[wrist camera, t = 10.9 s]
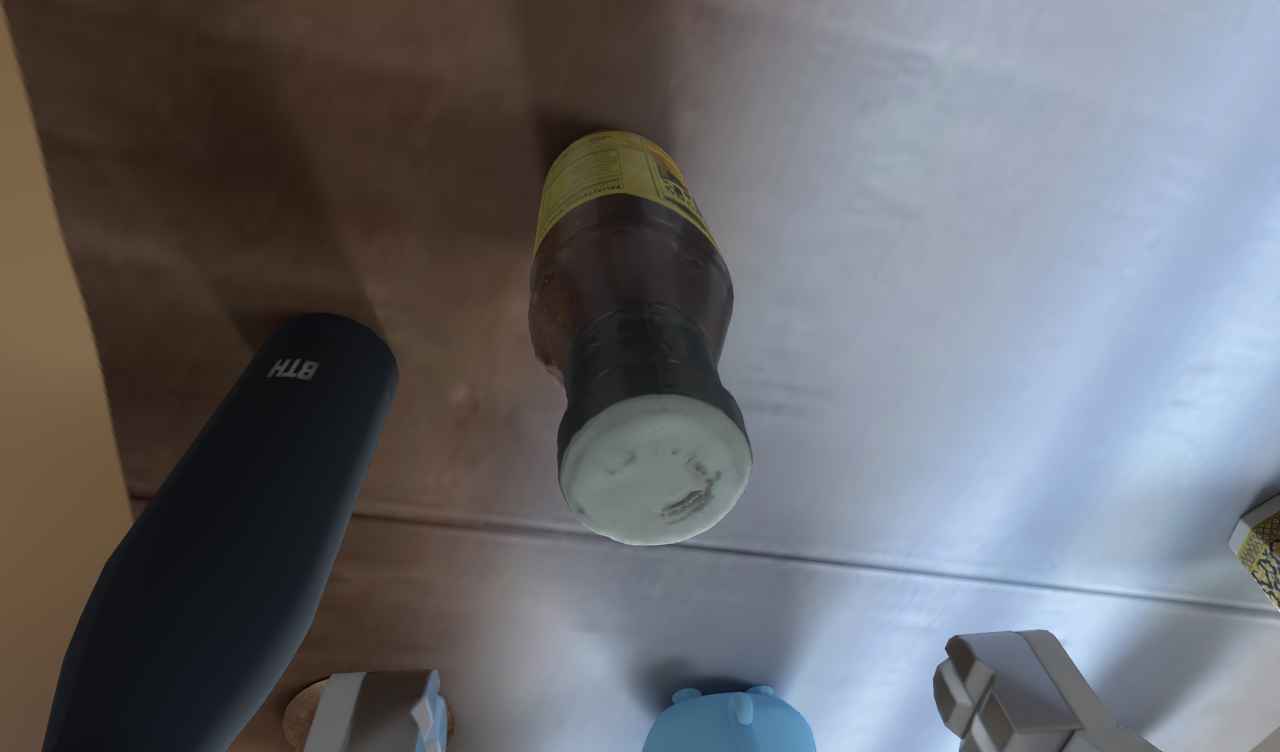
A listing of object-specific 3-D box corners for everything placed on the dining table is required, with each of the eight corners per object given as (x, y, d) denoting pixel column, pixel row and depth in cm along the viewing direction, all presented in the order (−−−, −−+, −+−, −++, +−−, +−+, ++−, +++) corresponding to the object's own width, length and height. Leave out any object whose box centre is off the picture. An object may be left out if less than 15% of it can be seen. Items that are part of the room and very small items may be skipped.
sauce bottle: (687, 245, 32) (813, 577, 16) (557, 267, 32) (547, 621, 16) (672, 101, 29) (814, 337, 12) (525, 125, 29) (471, 394, 12)
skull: (457, 782, 55) (339, 896, 47) (376, 693, 59) (256, 784, 51) (476, 701, 48) (344, 816, 41) (385, 606, 52) (249, 695, 45)
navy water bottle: (324, 437, 37) (-193, 1534, 12) (234, 348, 33) (-765, 1621, 8) (425, 388, 36) (90, 1487, 11) (342, 290, 32) (-439, 1563, 7)
